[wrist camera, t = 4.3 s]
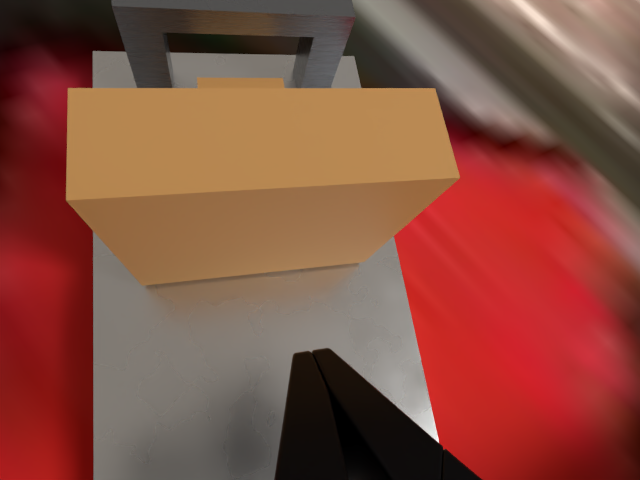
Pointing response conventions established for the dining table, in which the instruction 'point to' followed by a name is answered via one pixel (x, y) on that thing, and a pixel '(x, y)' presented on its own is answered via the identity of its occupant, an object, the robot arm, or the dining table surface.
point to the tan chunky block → (251, 173)
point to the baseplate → (234, 282)
